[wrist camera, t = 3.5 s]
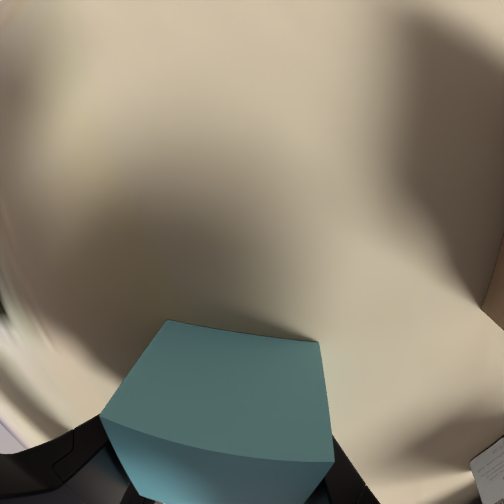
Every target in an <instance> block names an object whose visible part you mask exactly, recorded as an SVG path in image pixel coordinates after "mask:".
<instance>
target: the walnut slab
mask: <svg viewBox="0 0 504 504" xmlns="http://www.w3.org/2000/svg"><path fill="white" fill-rule="evenodd" d="M481 310H482V311H483V312H484V313H485V314H487V315H488V316H489V317H490V318H491V319H492V320H493V321H494V322H495V323H496V324H497V325H498V326H499V327H501V328H502V329H503V330H504V234H503V238H502V243H501V247H500V251H499V255H498V258H497V262H496V266H495V269H494V272H493V276H492V279H491V282H490V285H489V288H488V291H487V294H486V297H485V300H484V302H483V305H482V308H481Z"/></svg>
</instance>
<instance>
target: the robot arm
mask: <svg viewBox="0 0 504 504" xmlns="http://www.w3.org/2000/svg"><path fill="white" fill-rule="evenodd" d="M100 414H101V413H100ZM100 414H98V415H97V416H95V417H93V418H92V419H90V420H88V421H86V422H85V423H83V424H81V425H79V426H78V427H76V428H74V430H70V431H69V432H67V433H65V434H63V435H61V436H59V437H57V438H55V439H53V440H51V441H48V442H46V443H43V444H41V445H38V446H35V447H33V448H30V449H27V450H24V451H21V452H18V453H14V454H0V504H163V503H161V502H158V501H155V500H152V499H149V498H146V497H143V496H140V495H139V493H138V491H137V490H136V488H135V486H134V485H133V483H132V481H131V480H130V478H129V476H128V474H127V473H126V471H125V469H124V467H123V465H122V464H121V462H120V460H119V458H118V456H117V454H116V452H115V450H114V448H113V446H112V444H111V442H110V440H109V437H108V435H107V433H106V431H105V429H104V426H103V424H102V422H101V419H100V417H99V415H100ZM332 440H333V449H334V459H335V462H334V464H333V465H332V467H331V468H330V469H329V471H328V472H327V474H326V475H325V476H324V478H323V479H322V481H321V482H320V483H319V485H318V486H317V487H316V489H315V490H314V491H313V492H312V494H311V495H310V496H309V497H308V499H307V500H306V501H305V502H304V504H380V503H379V501H378V500H377V499H376V497H375V496H374V495H373V493H372V492H371V491H370V489H369V488H368V486H367V485H366V484H365V482H364V481H363V479H362V478H361V476H360V475H359V473H358V472H357V470H356V469H355V468H354V466H353V465H352V463H351V462H350V460H349V459H348V457H347V456H346V454H345V453H344V451H343V450H342V448H341V447H340V445H339V444H338V442H337V441H336V439H335V438H334V436H333V435H332ZM365 485H366V486H365Z"/></svg>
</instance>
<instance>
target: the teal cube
mask: <svg viewBox="0 0 504 504" xmlns="http://www.w3.org/2000/svg"><path fill="white" fill-rule="evenodd" d="M99 417H100V419H101V422H102V424H103V426H104V429H105V431H106V433H107V435H108V437H109V440H110V442H111V444H112V446H113V448H114V450H115V452H116V454H117V456H118V458H119V460H120V462H121V464H122V465H123V467H124V469H125V471H126V473H127V474H128V476H129V478H130V480H131V481H132V483H133V485H134V486H135V488H136V490H137V491H138V493H139V495H140V496H143V497H146V498H149V499H152V500H155V501H158V502H161V503H165V504H304V502H305V501H306V500H307V499H308V497H309V496H310V495H311V494H312V492H313V491H314V490H315V489H316V487H317V486H318V485H319V483H320V482H321V481H322V479H323V478H324V476H325V475H326V474H327V472H328V471H329V469H330V468H331V467H332V465H333V464H334V462H335V459H334V449H333V440H332V431H331V423H330V415H329V407H328V399H327V392H326V385H325V378H324V371H323V365H322V358H321V352H320V346H319V343H318V342H308V341H298V340H289V339H281V338H273V337H265V336H258V335H251V334H244V333H237V332H231V331H225V330H219V329H213V328H207V327H202V326H197V325H191V324H186V323H181V322H176V321H171V320H166V322H165V323H164V324H163V326H162V327H161V328H160V330H159V331H158V333H157V334H156V335H155V337H154V338H153V340H152V341H151V342H150V344H149V345H148V346H147V348H146V349H145V351H144V352H143V353H142V355H141V356H140V358H139V359H138V360H137V362H136V363H135V365H134V366H133V368H132V369H131V370H130V372H129V373H128V375H127V376H126V377H125V379H124V380H123V382H122V383H121V385H120V386H119V388H118V389H117V390H116V392H115V393H114V395H113V396H112V398H111V399H110V401H109V402H108V403H107V405H106V406H105V408H104V409H103V411H102V412H101V414H100V415H99Z"/></svg>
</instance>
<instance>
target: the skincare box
mask: <svg viewBox="0 0 504 504" xmlns="http://www.w3.org/2000/svg"><path fill="white" fill-rule="evenodd" d="M469 465H470V468H471V470H472V473H473V476H474V479H475V482H476V485H477V488H478V491H479V494H480V497H481V500H482V504H504V437H503V438H501V439H500V440H499V441H498V442H496V443H495V444H494V445H492V446H491V447H490V448H488V449H487V450H486V451H484V452H483V453H481V454H480V455H478V456H477V457H475V458H474V459H473V460H472V461H471V462H470V464H469Z"/></svg>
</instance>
